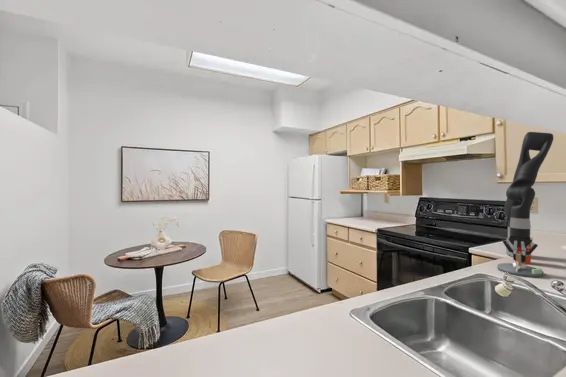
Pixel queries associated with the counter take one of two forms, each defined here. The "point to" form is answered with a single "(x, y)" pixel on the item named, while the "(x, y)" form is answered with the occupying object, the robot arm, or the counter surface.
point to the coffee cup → (528, 257)
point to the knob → (519, 262)
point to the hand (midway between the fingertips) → (519, 261)
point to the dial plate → (520, 270)
